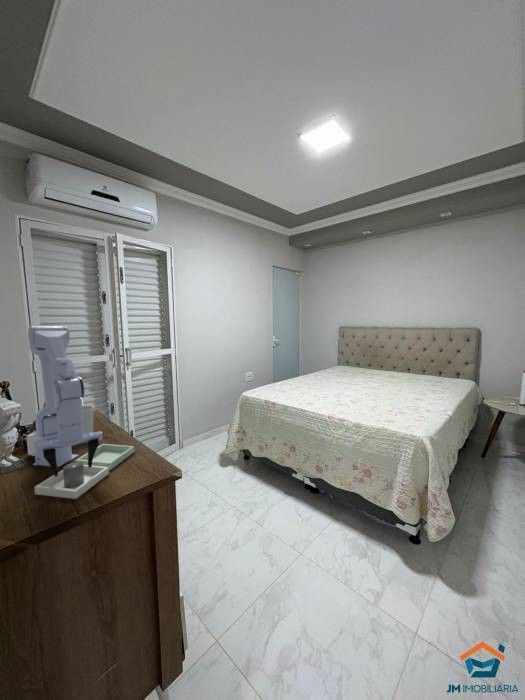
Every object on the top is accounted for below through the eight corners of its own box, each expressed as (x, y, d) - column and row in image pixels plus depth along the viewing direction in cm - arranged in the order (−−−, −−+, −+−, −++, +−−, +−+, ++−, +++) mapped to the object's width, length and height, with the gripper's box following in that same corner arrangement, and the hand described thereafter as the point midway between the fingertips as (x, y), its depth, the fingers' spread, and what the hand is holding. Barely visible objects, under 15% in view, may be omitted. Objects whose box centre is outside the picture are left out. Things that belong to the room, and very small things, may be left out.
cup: (66, 440, 106) (64, 410, 105) (86, 433, 113) (84, 404, 112) (80, 444, 103) (78, 413, 102) (100, 436, 110) (98, 407, 109)
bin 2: (75, 468, 86) (75, 460, 86) (103, 450, 98) (103, 443, 98) (110, 471, 84) (110, 463, 84) (134, 453, 96) (134, 446, 96)
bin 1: (35, 496, 72) (34, 486, 72) (73, 471, 84) (72, 463, 84) (75, 501, 70) (75, 491, 70) (108, 475, 82) (108, 467, 82)
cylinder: (59, 487, 75) (58, 469, 75) (73, 477, 80) (72, 461, 79) (74, 488, 74) (73, 471, 74) (88, 479, 79) (87, 462, 78)
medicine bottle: (44, 457, 93) (42, 423, 91) (27, 455, 94) (24, 421, 93) (64, 448, 100) (61, 416, 98) (47, 446, 101) (45, 414, 100)
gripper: (35, 433, 68) (39, 485, 69) (102, 421, 76) (105, 468, 78) (37, 425, 74) (40, 473, 75) (99, 414, 82) (102, 458, 83)
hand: (73, 470), depth 77 cm, fingers open, 7 cm apart
